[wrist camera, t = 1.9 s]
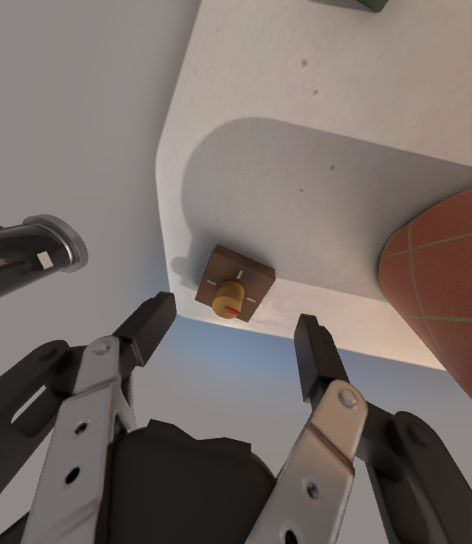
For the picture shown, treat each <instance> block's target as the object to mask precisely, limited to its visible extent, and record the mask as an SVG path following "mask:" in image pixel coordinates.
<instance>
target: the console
mask: <svg viewBox="0 0 472 544" xmlns="http://www.w3.org/2000/svg"><path fill="white" fill-rule="evenodd" d="M229 280H232V281H236V282H238V283H239V284H241V286H242V287H243V289H244V297H243V301H242V306H241V311H240V314H239V316H236V318H238V319H241V320H243V321H245V322H248V321H249V320H250V318H251V317H252V315H253V314H254V312H255V311H256V309H257V308H258V306H259V304H260V303H261V301H262V300H263V298H264V297H265V295H266V294H267V292H268V291H269V289H270V288H271V286H272V285H273V283H274V281H275V280H276V278H275V270H274V269H272V268H270V267H267V266H265V265H263V264H261V263H258V262H256V261H254V260H252V259H250V258H247V257H245V256H243V255H241V254H238V253H236V252H234V251H232V250H229V249H227V248H225V247H223V246H221V245H218V244H217V245H216V247H215V248H214V250H213V251H212V253H211V256H210V258H209V261H208V264H207V267H206V270H205V272H204V275H203V278H202V281H201V284H200V286H199V289H198V292H197V295H196V298H195V300H196V301H198V302H201V303H203V304H205V305H208V306H210V307H212V303H213V300H214V298H215V296H216V294H217V292H218V289H219V287H220V285H221V284H222V283H223V282H225V281H229Z"/></svg>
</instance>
